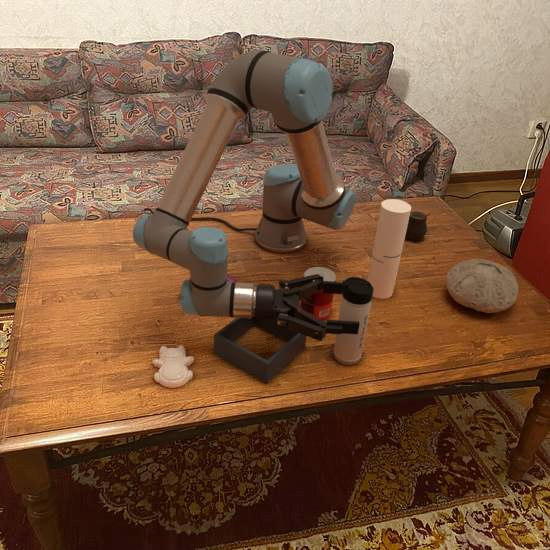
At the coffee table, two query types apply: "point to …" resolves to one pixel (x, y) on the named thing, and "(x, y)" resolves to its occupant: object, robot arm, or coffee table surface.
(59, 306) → the coffee table surface
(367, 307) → the travel mug
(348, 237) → the coffee table surface
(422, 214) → the mate gourd
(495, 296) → the decorative shell
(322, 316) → the canned food
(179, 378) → the white animal figurine
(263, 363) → the frame
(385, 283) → the cylindrical container
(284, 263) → the coffee table surface
